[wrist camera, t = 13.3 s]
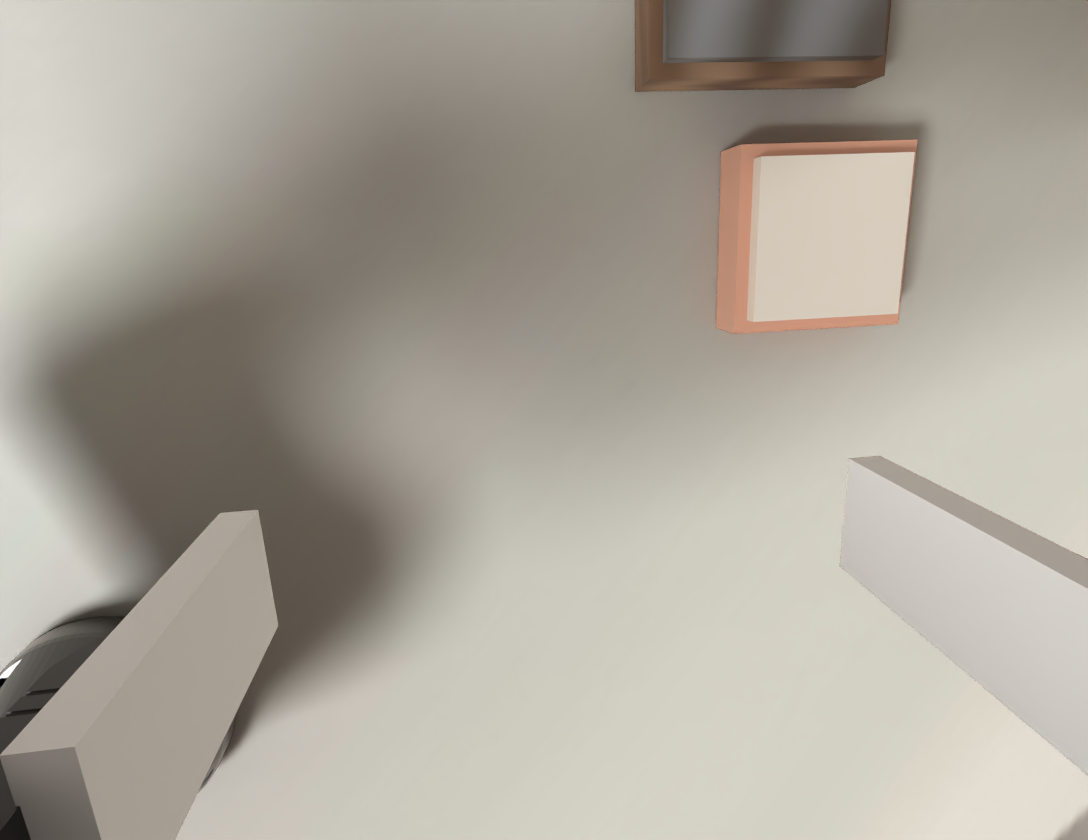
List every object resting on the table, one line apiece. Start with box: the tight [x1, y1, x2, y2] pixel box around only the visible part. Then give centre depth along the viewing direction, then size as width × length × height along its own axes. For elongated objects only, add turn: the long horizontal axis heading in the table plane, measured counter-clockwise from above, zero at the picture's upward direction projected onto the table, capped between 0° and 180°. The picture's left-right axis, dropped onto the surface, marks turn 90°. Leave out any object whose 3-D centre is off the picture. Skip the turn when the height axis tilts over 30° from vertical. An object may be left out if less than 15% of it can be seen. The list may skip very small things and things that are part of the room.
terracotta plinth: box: [716, 140, 918, 334], centre depth 40 cm, size 11×11×4 cm
